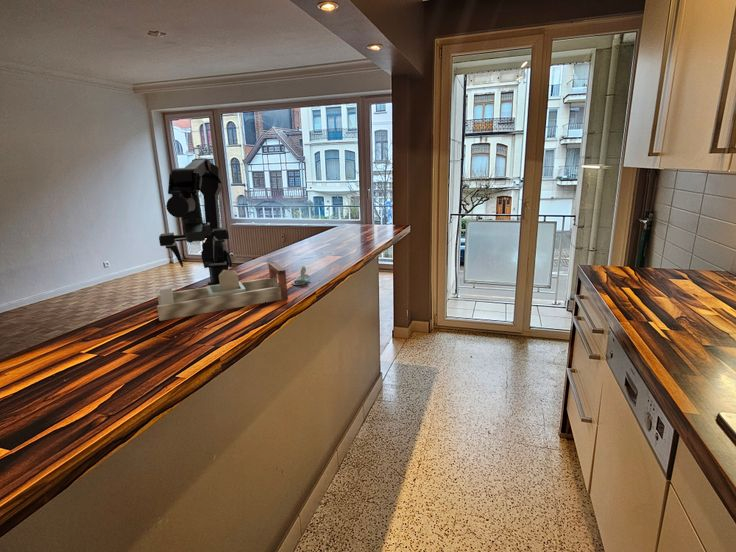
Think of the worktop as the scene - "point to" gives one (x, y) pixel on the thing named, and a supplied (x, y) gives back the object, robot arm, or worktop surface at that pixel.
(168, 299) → the square frame with handle
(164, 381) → the worktop surface
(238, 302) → the channel
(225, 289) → the candle
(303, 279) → the pacifier
